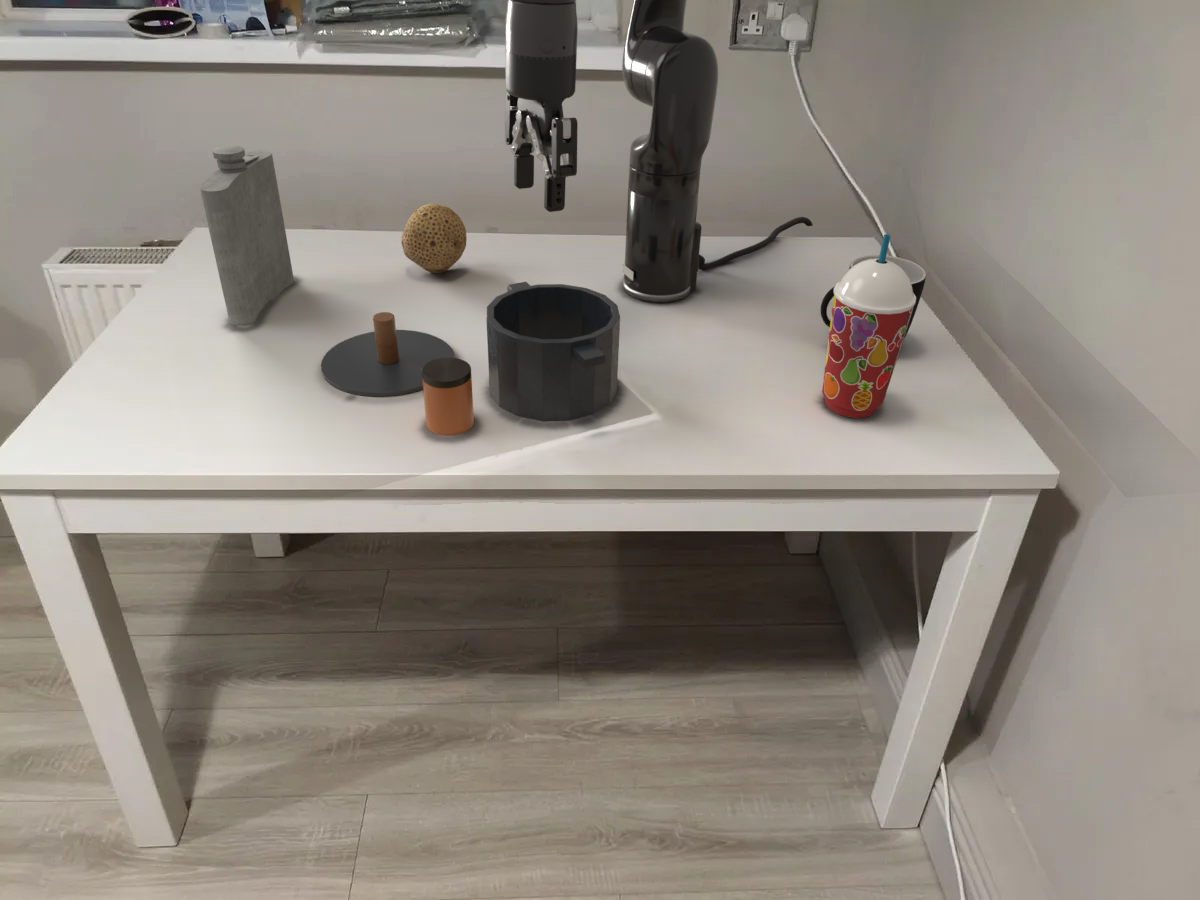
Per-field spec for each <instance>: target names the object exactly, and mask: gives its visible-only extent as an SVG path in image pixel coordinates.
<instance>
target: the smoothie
mask: <svg viewBox="0 0 1200 900" xmlns="http://www.w3.org/2000/svg"><path fill="white" fill-rule="evenodd" d="M890 241H891V235H890V234H887V233H885V234H883V238H882V242H881V247H880V251H879V255H880V256H879V258H875V259H868V260H864V261H862V262H859V263H858V264H856V265H855V266H853V267H852V268H850V269H849V268H848V270H847V271H846V272H845V273H844V274H843V276H842V277H841V279H840V280H839V281H837V283H835V284H834V286H835V287H834V286H833V287H834V296H833V298H832V308H831V315H830V321H831V322H830V328H829V331H828V340H827V347H826V357H825V363H824V372H823V379H822V390H821V393H822V396H823V397H824V402H825V405H826V407H827V408H828V409H829V410H831V411H832V412H833V413H836V414H838V415H840V416H843V417H848V418H854V419H855V418H857V419H859V418H860V419H861V418H868V417H869V416H870V417H871V416H872V415H874V414H875V413H876V412H877V410H878V408H881V406H882V405H883V404H884V402H885V399H886V396H887V393H888V389H889V387H890V384H891V380H892V377H893V374H894V372H895V371H894V370H895V367H896V364H897V361H898V358H899V355H900V351H901V348H902V346H903V342H904V340H905V339H904V336H905V333H906V330H907V326H908V323H909V320H910V317H911V314H912V310H913V307H914V305H915V303H916V296H915V295H914V293H913V289H912V284H911V282H910V280H909V277H908V276H907V274H906V273H905V271H904V270H903V269H902V268H901V267H900V266H898V265H897V264H895V263H893V262H891V261H889V260H886V255H887V254H888V250H889V244H890ZM887 256H888V255H887ZM903 339H904V340H903Z"/></svg>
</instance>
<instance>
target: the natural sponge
mask: <svg viewBox="0 0 1200 900" xmlns="http://www.w3.org/2000/svg"><path fill="white" fill-rule="evenodd" d="M400 240H401V241H400V242H401V248H402V251H403V254H404V255H405V257H406V258H407V259H408V260H410V262H411V261H412V263H414V264H416V265H417V266H418V267H420V268H421V269H422V270H425V271H426V272H428V273H430V274H442V273H445V272H446V271H448V270H450V269H451V268H452V267H453V266H454V265H455V264H456V263H457V262H459V260H460V259H461V257H462V256H463V253H464V252H465V250H466V247H467V242H468V241H467V240H468V239H467V230H466V226H465V224H464V222H463V220H462V217H460V216H459V214H457V213H456V212H455V211H454V210H453V209H451V207H448V206H446V205H443V204H438V203H427V204H424V205H421V206H420V207H419V208H418V209H416V210H415V211H414V212H413V213H412V214H411V215H410V217H409V218H408V220H407V222H406V223H405V226H404V229H403V231H402V233H401V239H400Z"/></svg>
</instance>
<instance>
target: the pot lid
mask: <svg viewBox="0 0 1200 900" xmlns="http://www.w3.org/2000/svg"><path fill="white" fill-rule="evenodd" d="M372 321H373V322H372V323H373V330H374V331H370V332H366V333H365V332H364V333H361V334H357V335H354V336H352V337H349V338H347V339H345V340H342V341H340V342H339V343H337V344H335V345H334V346H333V347H330V349H329V350H328V351H327V352H326V353H325V354H324V356H323V358H322V359H321V363H320V367H321V374H322V376H323V378H324V379H325V381H326V382H327V383H329V384H330V385H331V386H332V387H334V388H336V389H338V390H340V391H342V392H345V393H348V394H352V395H357V396H361V397H362V396H363V397H373V398H374V397H379V398H381V397H382V398H383V397H396V396H403V395H408V394H412V393H416V392H419V391H423V384H422V373H421V370H422V367H423V366H424V365H425V364H426V363H428V362H429V361H432V360H435V359H439V358H456V357H455V352H454V350H453V348H452V347H451V346H450V345H449V343H447V342H446V341H445V340H444V339H441V338H439V337H438V336H435V335H432V334H430V333H426V332H422V331H417V330H412V329H411V330H409V329H406V330H405V329H397V327H396V318H395V314H393V313H391V312H387V311H381V312H378V313H375V314H373V317H372Z"/></svg>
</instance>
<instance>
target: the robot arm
mask: <svg viewBox="0 0 1200 900" xmlns="http://www.w3.org/2000/svg"><path fill="white" fill-rule="evenodd" d="M687 1H688V0H633V2H632V7H631V12H630V15H629V21H628V27H627V31H626V37H625V40H624V41H625V43H624V48H623V54H622V63H621V65H622V66H621V67H622V68H621V69H622V78H623V83H624V85H625V88H626V90H627V92H628V93H629V95H630V96H631V97H632V98H634V99H635V100H636V101H638V102H640V103H642V104H645V105H646V106H650V107H651V108H652V110H651V111H652V112H651V117H650V118H651V119H650V127H649V131H648V134H643V135H640V136H638V137H636V138H635V139H633V140H632V142H631V144H630V147H629V149H630V150H629V163H628V165H629V166H628V167H629V168H628V185H627V186H628V187H627V205H626V207H627V208H626V227H625V228H626V229H625V247H624V249H625V250H624V251H625V252H624V263H622V266H621V272H622V274H623V279H622V288H623V290H624V292H625V294H627V295H629V296H631V297H633V298H635V299H638V300H642V301H645V302H653V303H669V302H675V301H679V300H682V299H684V298H686V297H687V296H688V295H690V293H691V292H696V291H697V280H698V272H699V270H702V271H706V270H710V269H712V268H716V267H720V266H722V265H724V264H727V263H729V262H731V261H735V260H736V259H739V258H741V257H744V256H746V255H750V254H753V253H754V252H757V251H759V250H761V249H763V248H766V247H767V246H769V245H770V244H772V242H774V241H775V240H776V238H777V237H778V236H779V234H781V233H782V232H784V231H785V230H788V229H790V228H792V227H794V226H796V225H798V224H805V226H807V227H813V226H814V224H813V222H812V221H811V220H810V219H809V218H808V217H805V216H799V217H795V218H793V219H791V220H789V221H787V222H785V223H783V224H781V225H779V226H777V227H776V228H775V229H774V230H773V231H771V233H770V234H769V235H768V236H767V238H764V240H761V241H760V242H757V243H755V244H753V245H750V246H748V247H745V248H742V249H738V250H736V251H733V252H730V253H729V254H726V255H724V256H723V257H720V258H718V259H716V260H714V261H713V260H712V261H711V262H707V263H706V258H705V257H704V256H703V255H702V254H700V249H701V238H702V224H701V223H699V222H698V221H697V213H698V203H699V202H698V201H699V191H700V180H701V169H702V161H703V156H704V153H705V151H706V150H707V148H708V145H709V143H710V139H711V134H712V127H713V122H714V121H713V120H714V113H715V108H716V107H715V106H716V99H717V93H718V84H719V64H718V57H717V54H716V51H715V49H714V47H713V46H712V44H711V43H710V42H709V41H708V40H707V39H706V38H704V37H702V36H700V35H697V34H693V33H691V32H688V31H684V25H685V15H686V7H687ZM506 7H507V8H506V11H505V13H506V14H505V23H504V24H505V27H504V30H505V33H504V34H505V37H504V38H505V45H504V46H505V48H504V49H505V52H504V53H505V55H504V56H505V64H504V65H505V67H504V68H505V71H504V73H505V90H506V92H505V120H504V121H505V123H504V124H505V127H504V128H505V130H504V133H505V134H504V141H505V144H506V145H507V146H510V151H511V155H513V156H514V158H513V166H514V167H513V172H514V173H513V176H514V177H513V184H514V186H515V187H516V189H518V190H522V189H523V190H524V189H530V188H532V187H534V184H535V156H536V159H538V160H540V161H541V164H542V169H543V172H544V176H545V177H544V188H543V189H544V190H543V191H544V195H543V196H544V199H543V208H544V209H545V211H547V212H549V213H553V212H561V211H563V210H564V209H565V205H566V179H567V178H568V177H575V176H577V173H578V120H577V118H576V117H564V111H563V102H564V101H565V100H566V99H569V98H571V97H573V96H574V94H575V92H576V83H577V82H576V81H577V58H578V57H577V55H578V30H579V29H578V27H579V26H578V24H579V23H578V13H577V0H507V4H506ZM534 153H535V155H534ZM567 155H568V157H567Z"/></svg>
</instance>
